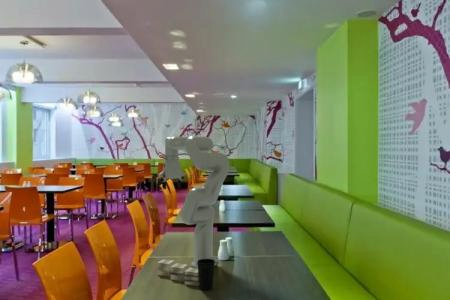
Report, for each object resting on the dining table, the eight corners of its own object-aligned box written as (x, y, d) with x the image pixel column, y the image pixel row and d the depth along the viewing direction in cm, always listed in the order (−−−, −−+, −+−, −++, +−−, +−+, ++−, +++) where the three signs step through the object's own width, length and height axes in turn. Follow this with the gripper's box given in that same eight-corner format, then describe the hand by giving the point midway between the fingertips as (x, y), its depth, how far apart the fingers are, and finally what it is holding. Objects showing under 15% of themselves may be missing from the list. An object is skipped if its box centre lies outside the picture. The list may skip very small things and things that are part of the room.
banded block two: (202, 281, 193) (202, 268, 193) (197, 286, 187) (197, 272, 187) (190, 280, 195) (190, 267, 195) (184, 284, 189) (184, 271, 189)
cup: (214, 285, 188) (214, 258, 187) (214, 291, 180) (214, 263, 180) (197, 285, 187) (197, 258, 187) (196, 291, 180) (196, 263, 179)
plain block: (174, 272, 206) (174, 260, 206) (168, 276, 200) (168, 263, 200) (163, 271, 208) (163, 259, 208) (157, 275, 202) (157, 262, 202)
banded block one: (188, 277, 200) (188, 264, 199) (182, 281, 194) (182, 268, 193) (176, 275, 202) (176, 263, 201) (170, 279, 196) (170, 266, 196)
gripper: (161, 159, 235) (161, 189, 235) (188, 158, 245) (188, 187, 245) (155, 158, 241) (155, 188, 241) (181, 158, 251) (181, 186, 252)
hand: (171, 188), depth 243 cm, fingers open, 9 cm apart
